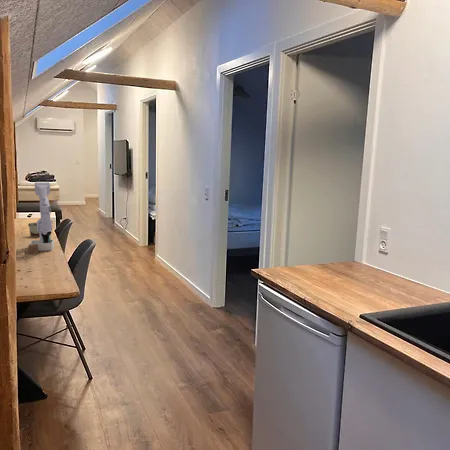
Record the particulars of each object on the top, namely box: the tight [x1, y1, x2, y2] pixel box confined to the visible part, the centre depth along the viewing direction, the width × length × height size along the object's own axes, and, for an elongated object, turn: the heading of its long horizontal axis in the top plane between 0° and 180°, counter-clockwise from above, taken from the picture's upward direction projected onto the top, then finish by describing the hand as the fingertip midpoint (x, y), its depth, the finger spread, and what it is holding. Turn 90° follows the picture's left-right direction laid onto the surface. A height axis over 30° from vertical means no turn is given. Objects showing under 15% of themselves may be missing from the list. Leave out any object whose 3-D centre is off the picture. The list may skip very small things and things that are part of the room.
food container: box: [27, 222, 40, 237], centre depth 346 cm, size 12×6×10 cm, turn 84°
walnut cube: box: [27, 243, 39, 254], centre depth 290 cm, size 5×5×5 cm
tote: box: [28, 239, 55, 252], centre depth 300 cm, size 12×14×5 cm
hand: (46, 243), depth 301 cm, fingers closed on teal cylinder, 5 cm apart
